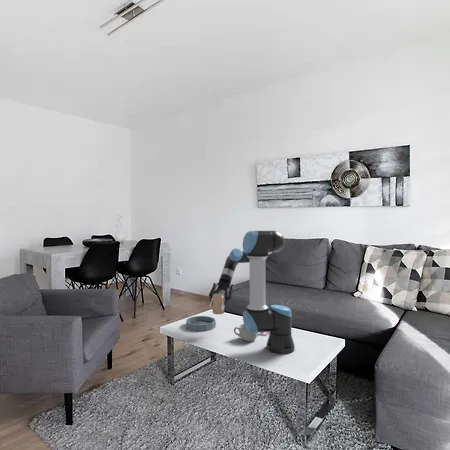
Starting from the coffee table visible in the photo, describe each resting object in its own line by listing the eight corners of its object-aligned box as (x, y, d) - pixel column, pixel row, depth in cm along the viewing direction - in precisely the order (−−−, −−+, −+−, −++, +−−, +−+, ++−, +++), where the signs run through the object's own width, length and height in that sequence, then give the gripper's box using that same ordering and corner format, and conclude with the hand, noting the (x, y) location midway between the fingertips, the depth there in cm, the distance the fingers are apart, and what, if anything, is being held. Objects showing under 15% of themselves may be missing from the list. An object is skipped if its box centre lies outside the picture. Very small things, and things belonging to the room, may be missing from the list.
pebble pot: (226, 311, 210) (225, 292, 209) (221, 314, 203) (221, 295, 203) (215, 310, 213) (215, 291, 212) (210, 313, 206) (210, 294, 206)
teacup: (257, 336, 205) (257, 323, 205) (257, 343, 194) (257, 329, 194) (234, 336, 207) (234, 322, 206) (233, 342, 196) (233, 328, 196)
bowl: (219, 323, 229) (219, 318, 229) (207, 332, 212) (207, 326, 212) (194, 320, 237) (194, 314, 236) (180, 328, 219) (180, 322, 219)
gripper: (242, 281, 218) (233, 313, 203) (214, 279, 226) (203, 309, 211) (239, 274, 213) (229, 306, 198) (210, 272, 221) (199, 303, 206)
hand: (216, 308), depth 205 cm, fingers closed on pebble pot, 7 cm apart
